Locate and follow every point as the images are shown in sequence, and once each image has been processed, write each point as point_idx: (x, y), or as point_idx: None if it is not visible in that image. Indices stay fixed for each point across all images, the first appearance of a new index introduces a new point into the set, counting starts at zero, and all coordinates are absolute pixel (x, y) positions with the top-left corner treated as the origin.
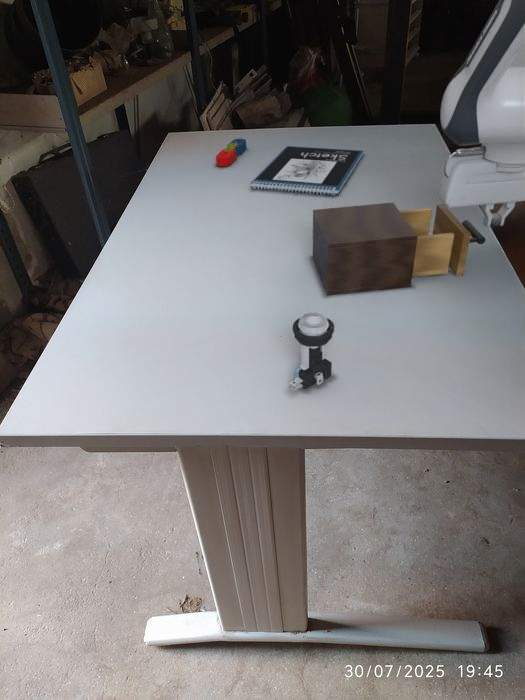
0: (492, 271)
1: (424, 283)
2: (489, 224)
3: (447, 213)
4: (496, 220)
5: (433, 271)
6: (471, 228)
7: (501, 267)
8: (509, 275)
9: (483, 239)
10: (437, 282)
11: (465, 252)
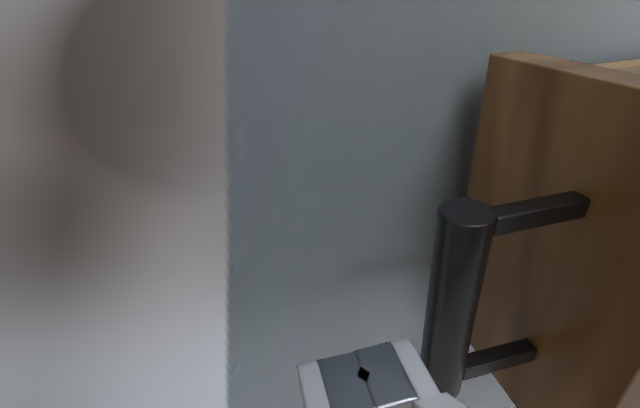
0: (306, 123)
1: (621, 38)
2: (404, 353)
3: (638, 405)
4: (368, 389)
5: (632, 63)
6: (473, 326)
7: (251, 159)
8: (235, 77)
9: (462, 216)
10: (573, 41)
11: (616, 79)
